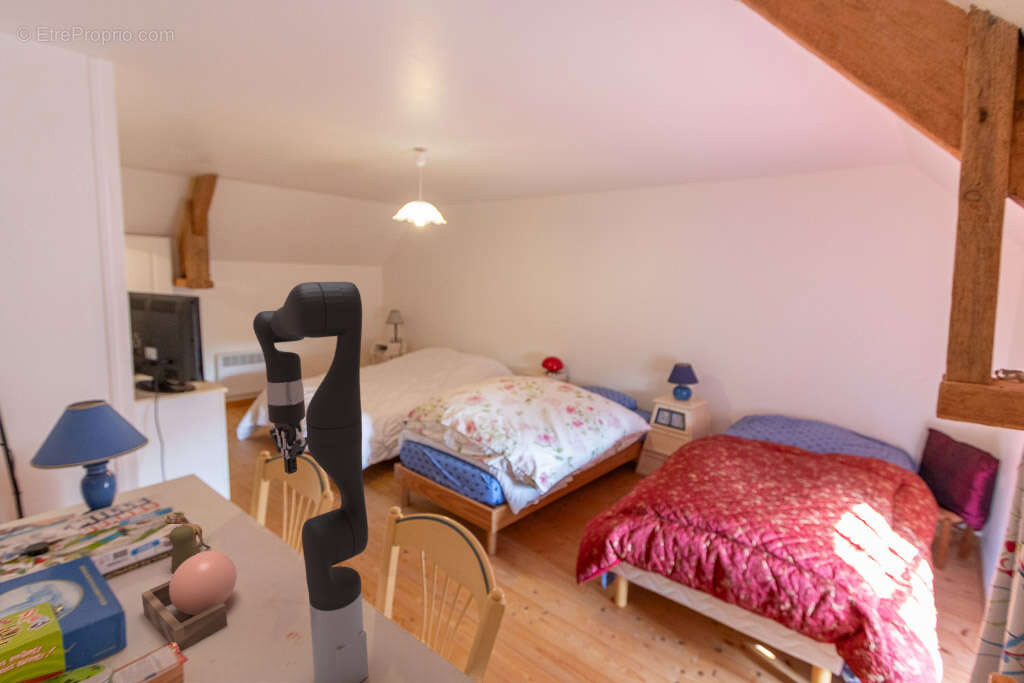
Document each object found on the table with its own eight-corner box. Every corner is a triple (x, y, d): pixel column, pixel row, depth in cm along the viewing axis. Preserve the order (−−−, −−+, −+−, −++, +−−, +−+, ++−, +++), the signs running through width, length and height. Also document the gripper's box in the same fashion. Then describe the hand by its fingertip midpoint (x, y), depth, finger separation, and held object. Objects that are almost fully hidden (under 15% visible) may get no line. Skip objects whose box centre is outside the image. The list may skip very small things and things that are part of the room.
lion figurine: (160, 546, 135) (157, 516, 134) (178, 536, 140) (174, 507, 139) (202, 555, 132) (199, 524, 130) (219, 544, 137) (216, 514, 135)
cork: (185, 575, 123) (180, 535, 121) (165, 572, 124) (160, 533, 122) (204, 561, 129) (200, 523, 127) (185, 558, 130) (181, 520, 128)
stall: (227, 625, 106) (225, 604, 105) (177, 653, 98) (175, 631, 98) (191, 591, 117) (189, 572, 116) (144, 613, 109) (141, 593, 109)
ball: (255, 561, 113) (196, 563, 103) (234, 620, 110) (172, 629, 100) (229, 543, 121) (173, 543, 110) (210, 598, 118) (149, 604, 108)
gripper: (254, 398, 109) (260, 470, 112) (285, 408, 102) (291, 486, 104) (286, 391, 115) (291, 460, 118) (318, 400, 108) (322, 474, 110)
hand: (291, 472), depth 111 cm, fingers closed
